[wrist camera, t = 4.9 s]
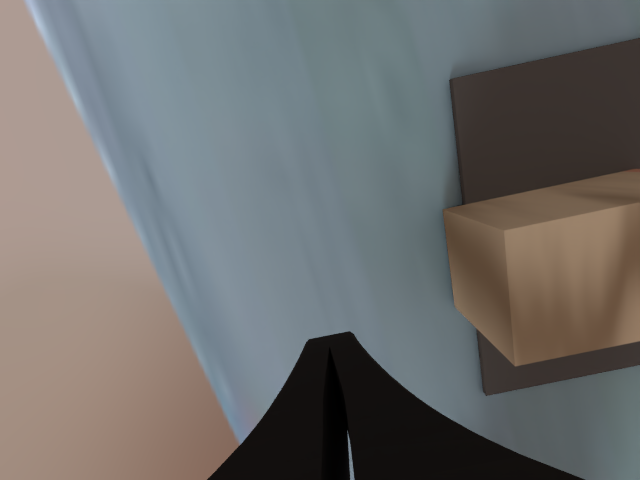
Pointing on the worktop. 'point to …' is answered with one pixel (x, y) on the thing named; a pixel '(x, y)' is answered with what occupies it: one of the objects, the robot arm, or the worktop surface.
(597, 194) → the maple block
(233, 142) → the worktop surface
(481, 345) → the rubber mat
